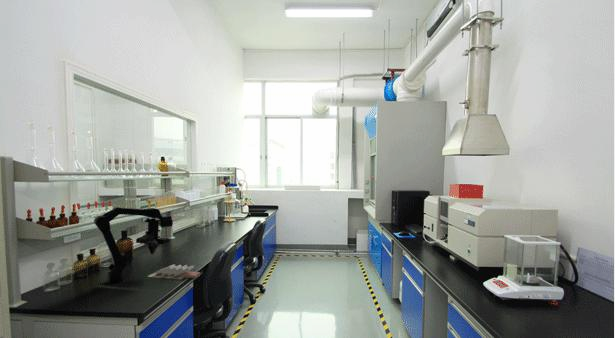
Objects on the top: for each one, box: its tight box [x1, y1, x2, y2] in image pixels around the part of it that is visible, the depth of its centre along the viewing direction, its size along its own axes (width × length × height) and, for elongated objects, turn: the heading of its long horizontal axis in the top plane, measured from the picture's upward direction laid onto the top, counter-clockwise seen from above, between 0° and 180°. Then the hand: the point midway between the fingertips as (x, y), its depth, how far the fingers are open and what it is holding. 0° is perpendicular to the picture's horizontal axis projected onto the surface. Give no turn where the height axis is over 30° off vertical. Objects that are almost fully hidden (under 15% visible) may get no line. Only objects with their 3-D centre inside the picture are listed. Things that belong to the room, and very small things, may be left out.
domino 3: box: [167, 264, 189, 276], centre depth 150 cm, size 2×5×10 cm
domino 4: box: [174, 264, 195, 276], centre depth 150 cm, size 2×5×10 cm
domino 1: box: [154, 263, 176, 275], centre depth 152 cm, size 2×5×10 cm
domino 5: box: [180, 270, 201, 279], centre depth 149 cm, size 2×5×10 cm
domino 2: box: [161, 264, 183, 275], centre depth 151 cm, size 2×5×10 cm
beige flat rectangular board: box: [147, 272, 185, 280], centre depth 151 cm, size 22×11×1 cm, turn 81°
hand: (152, 254), depth 153 cm, fingers closed
